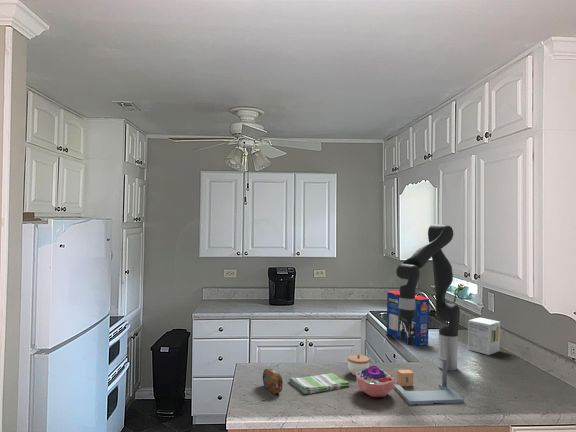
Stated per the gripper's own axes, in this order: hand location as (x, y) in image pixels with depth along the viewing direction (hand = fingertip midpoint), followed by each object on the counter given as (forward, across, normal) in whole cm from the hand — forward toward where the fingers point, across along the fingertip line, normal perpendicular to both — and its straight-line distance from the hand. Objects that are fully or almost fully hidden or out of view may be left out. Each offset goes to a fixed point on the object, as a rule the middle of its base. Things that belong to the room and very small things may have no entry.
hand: (406, 342), depth 211 cm
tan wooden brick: (+20, 0, 0) cm, 20 cm away
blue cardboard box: (+20, -72, +30) cm, 80 cm away
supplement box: (+20, -47, +67) cm, 84 cm away
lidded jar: (+20, -15, -18) cm, 31 cm away
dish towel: (+20, -3, -40) cm, 45 cm away
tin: (+20, +2, -62) cm, 65 cm away
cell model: (+20, +10, -18) cm, 29 cm away
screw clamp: (+20, +13, +5) cm, 24 cm away
